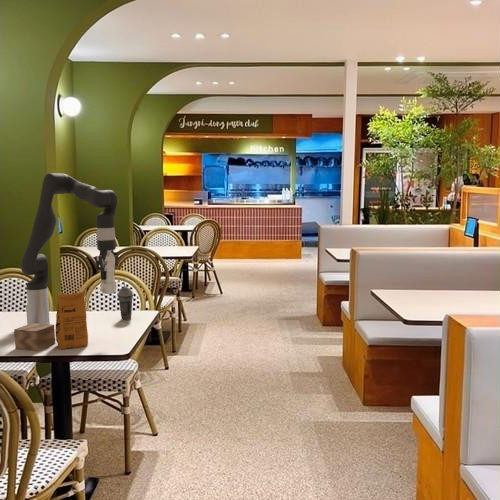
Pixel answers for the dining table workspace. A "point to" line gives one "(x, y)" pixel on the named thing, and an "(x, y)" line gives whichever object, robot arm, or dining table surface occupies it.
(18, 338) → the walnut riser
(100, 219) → the robot arm
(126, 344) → the dining table surface
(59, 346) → the coffee package
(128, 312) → the beverage cup
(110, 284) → the plastic bottle
